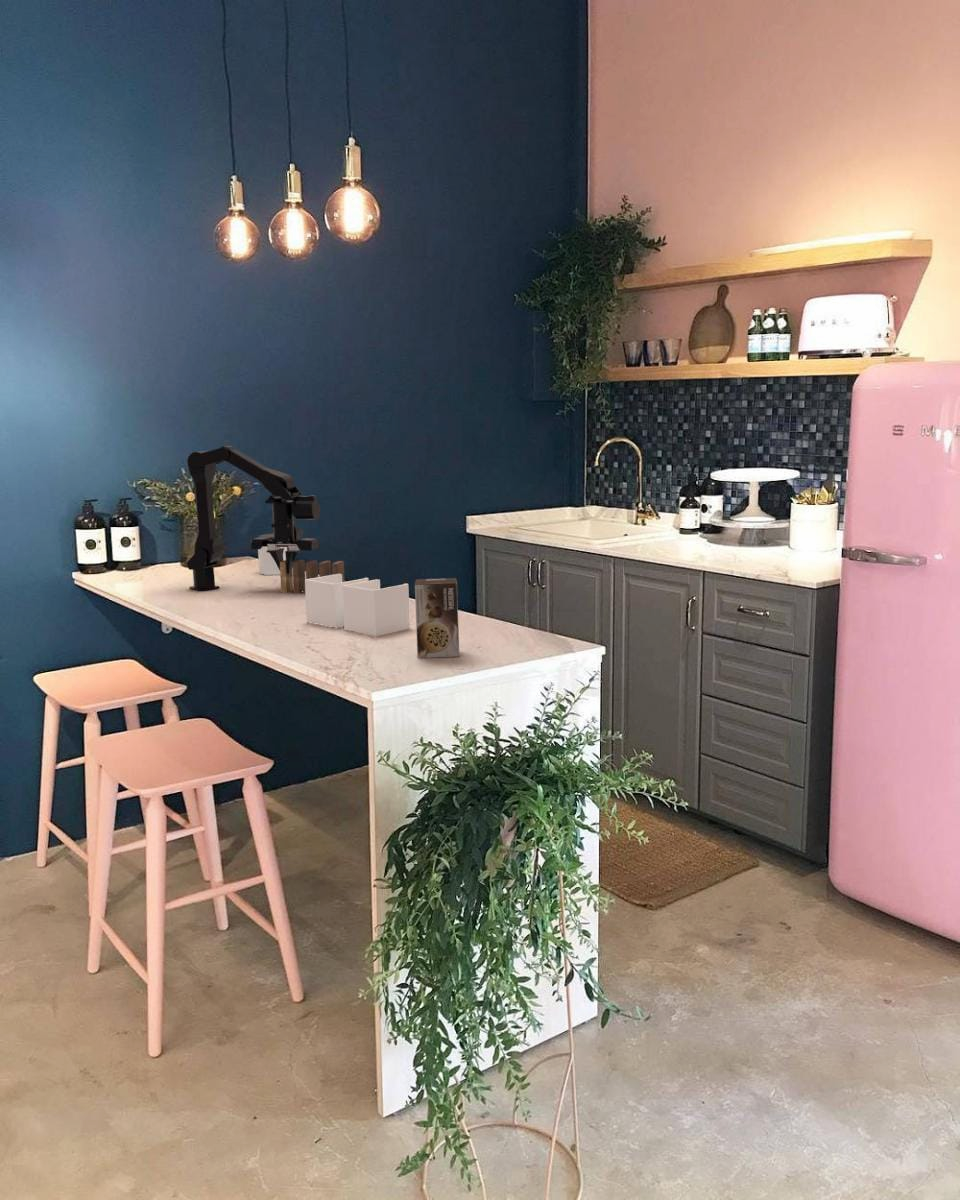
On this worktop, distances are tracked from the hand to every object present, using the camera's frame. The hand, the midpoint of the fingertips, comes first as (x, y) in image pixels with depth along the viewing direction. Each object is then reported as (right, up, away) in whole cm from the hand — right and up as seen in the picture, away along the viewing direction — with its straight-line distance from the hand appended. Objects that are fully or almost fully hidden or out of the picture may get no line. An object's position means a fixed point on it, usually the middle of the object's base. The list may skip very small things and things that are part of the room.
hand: (285, 573), depth 319 cm
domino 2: (+4, -5, 0) cm, 7 cm away
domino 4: (+12, -5, -2) cm, 13 cm away
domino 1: (0, -5, +1) cm, 5 cm away
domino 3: (+8, -5, -1) cm, 10 cm away
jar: (-10, +1, +34) cm, 35 cm away
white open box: (+26, -14, -47) cm, 55 cm away
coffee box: (+46, -19, -78) cm, 93 cm away
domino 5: (+16, -6, -3) cm, 17 cm away
